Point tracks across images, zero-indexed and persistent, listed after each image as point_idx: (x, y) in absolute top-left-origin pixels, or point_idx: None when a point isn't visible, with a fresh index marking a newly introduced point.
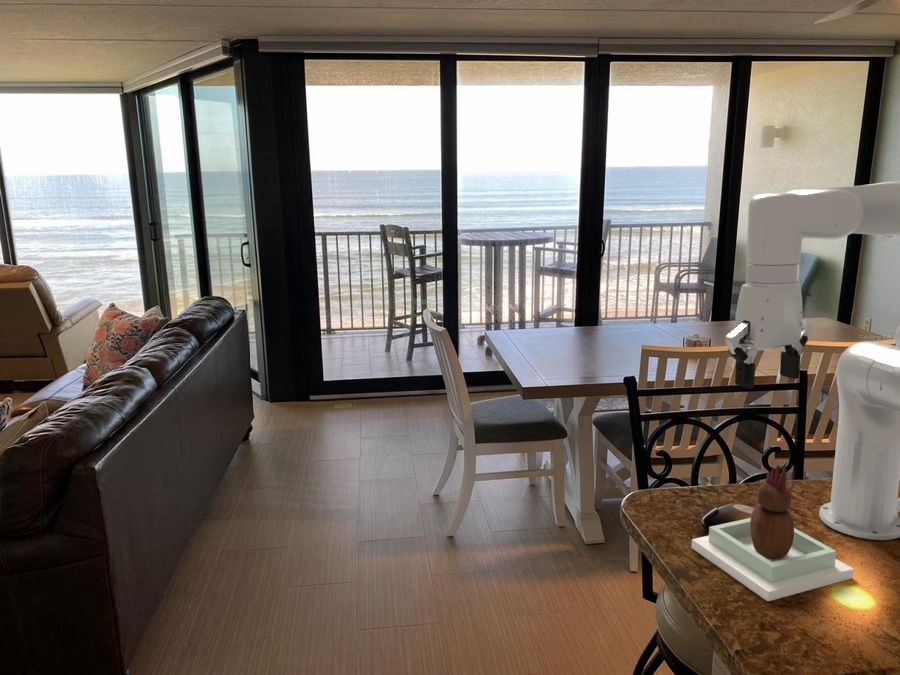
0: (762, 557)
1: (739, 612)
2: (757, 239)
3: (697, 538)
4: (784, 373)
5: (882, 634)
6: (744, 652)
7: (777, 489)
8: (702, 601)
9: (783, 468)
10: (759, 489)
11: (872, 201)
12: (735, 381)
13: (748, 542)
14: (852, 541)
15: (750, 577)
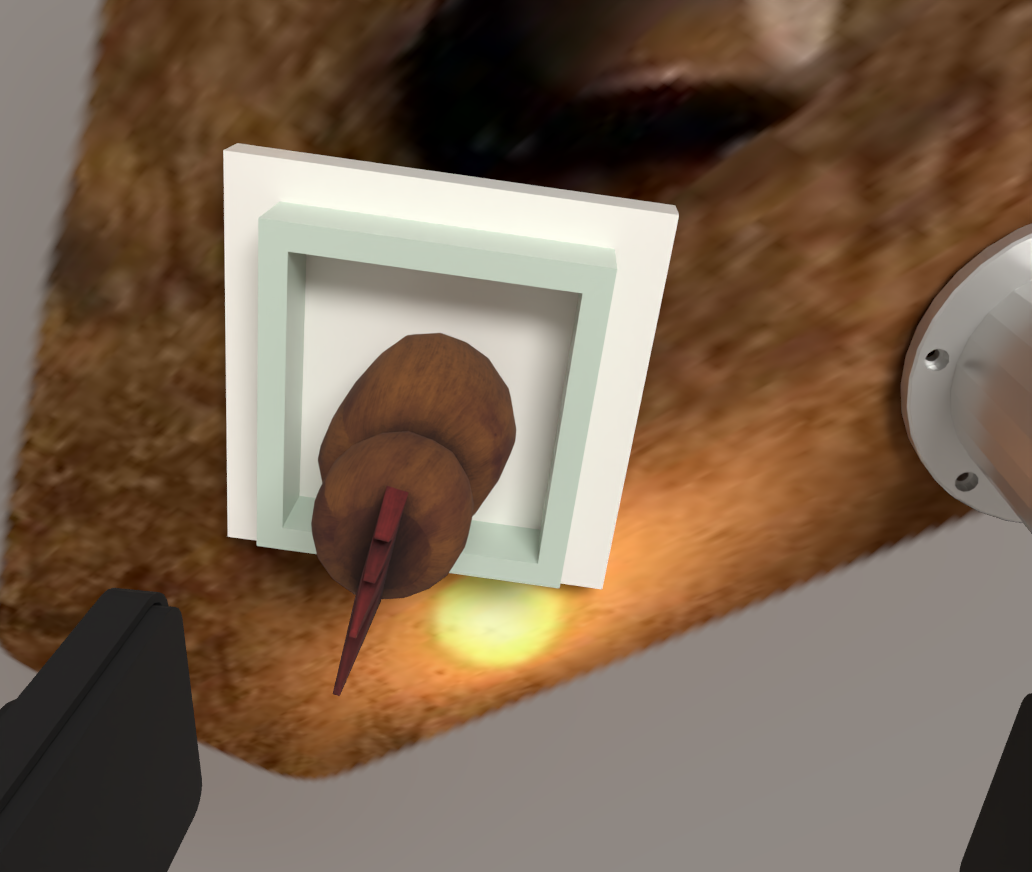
0: (274, 491)
1: (118, 510)
2: None
3: (252, 156)
4: (1021, 776)
5: (403, 730)
6: (12, 617)
7: (354, 579)
8: (43, 421)
9: (338, 674)
10: (327, 489)
11: None
12: (99, 603)
13: (427, 295)
14: (867, 436)
15: (237, 459)
